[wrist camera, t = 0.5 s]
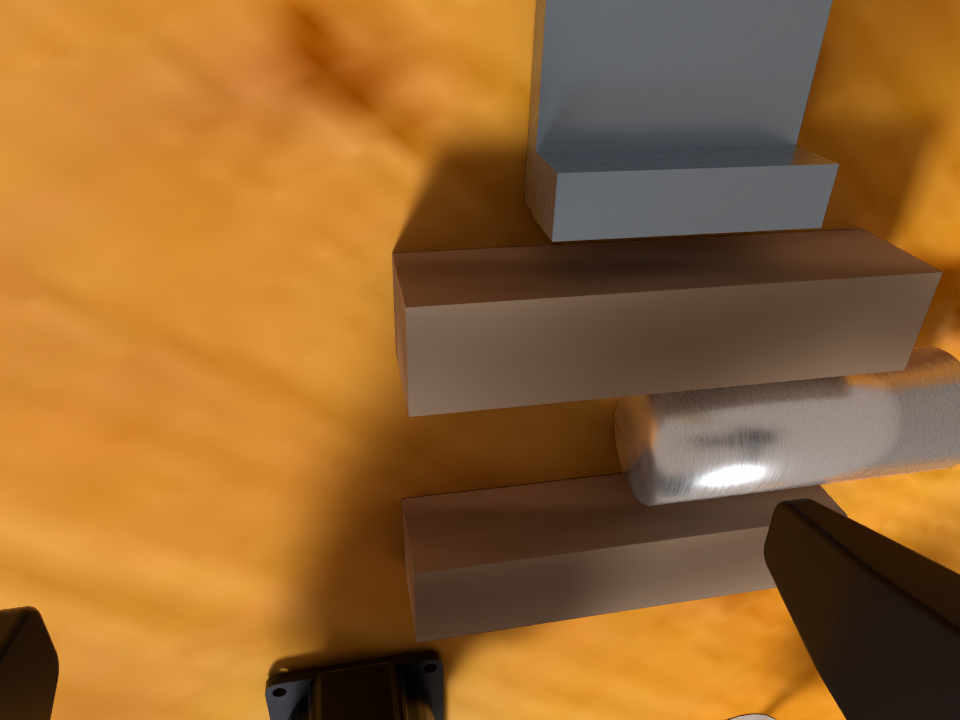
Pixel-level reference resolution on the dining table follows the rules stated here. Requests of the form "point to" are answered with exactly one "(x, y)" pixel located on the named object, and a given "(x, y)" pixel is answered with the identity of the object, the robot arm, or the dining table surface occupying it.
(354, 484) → the dining table surface
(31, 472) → the dining table surface
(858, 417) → the axle
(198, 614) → the dining table surface
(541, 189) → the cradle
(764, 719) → the wineglass
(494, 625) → the pair of brown blocks
